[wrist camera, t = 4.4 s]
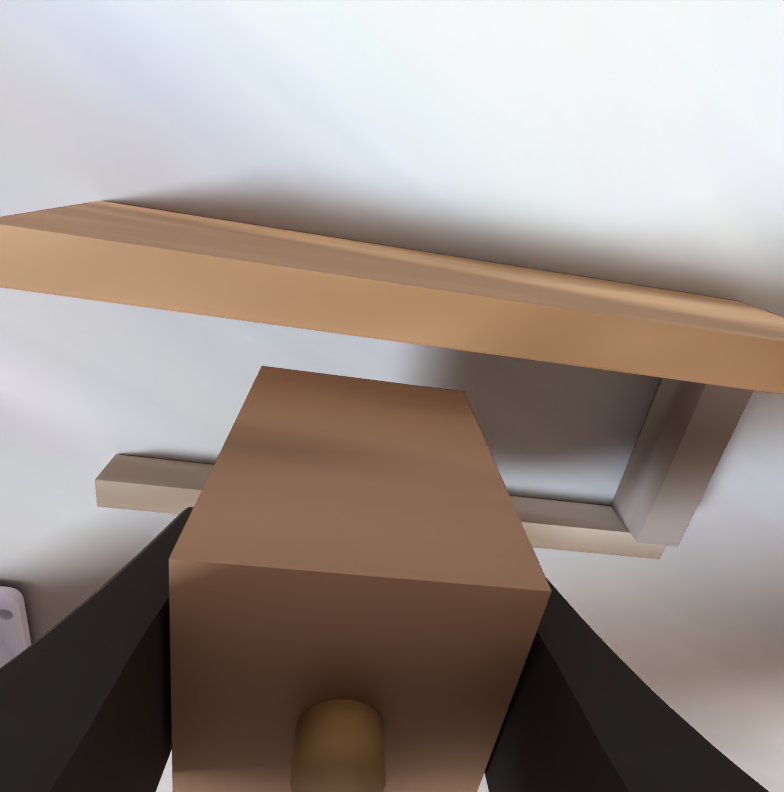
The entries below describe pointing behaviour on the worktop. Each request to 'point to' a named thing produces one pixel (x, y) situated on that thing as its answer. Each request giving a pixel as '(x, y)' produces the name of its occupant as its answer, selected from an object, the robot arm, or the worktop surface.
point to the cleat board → (426, 341)
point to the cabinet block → (348, 595)
